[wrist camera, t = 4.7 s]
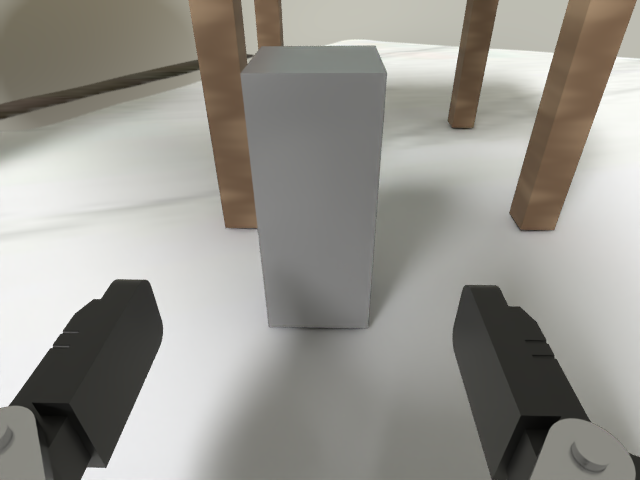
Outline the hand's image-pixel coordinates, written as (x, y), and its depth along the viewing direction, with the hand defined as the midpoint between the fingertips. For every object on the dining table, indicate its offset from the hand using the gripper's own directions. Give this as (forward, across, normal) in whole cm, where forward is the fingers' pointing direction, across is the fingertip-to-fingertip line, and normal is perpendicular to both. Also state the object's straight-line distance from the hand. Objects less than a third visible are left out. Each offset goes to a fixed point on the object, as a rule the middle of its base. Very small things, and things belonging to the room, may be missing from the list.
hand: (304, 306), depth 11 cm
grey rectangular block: (+8, 0, +6) cm, 10 cm away
